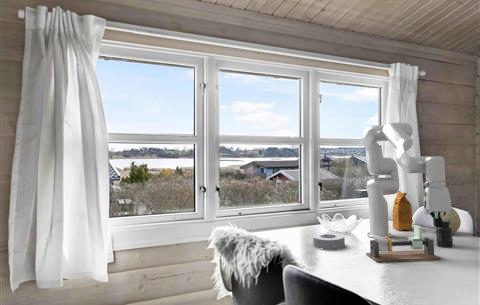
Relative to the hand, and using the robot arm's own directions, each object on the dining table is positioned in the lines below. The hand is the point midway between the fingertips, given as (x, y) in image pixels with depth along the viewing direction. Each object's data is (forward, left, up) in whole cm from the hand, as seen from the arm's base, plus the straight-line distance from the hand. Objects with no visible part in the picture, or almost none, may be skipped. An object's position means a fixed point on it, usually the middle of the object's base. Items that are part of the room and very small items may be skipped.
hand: (438, 227), depth 158 cm
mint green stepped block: (0, -10, -9) cm, 13 cm away
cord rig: (0, -16, -13) cm, 20 cm away
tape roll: (-25, -41, -13) cm, 50 cm away
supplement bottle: (-15, +12, -13) cm, 23 cm away
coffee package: (-55, +11, -13) cm, 58 cm away
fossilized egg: (-39, +28, -13) cm, 50 cm away
